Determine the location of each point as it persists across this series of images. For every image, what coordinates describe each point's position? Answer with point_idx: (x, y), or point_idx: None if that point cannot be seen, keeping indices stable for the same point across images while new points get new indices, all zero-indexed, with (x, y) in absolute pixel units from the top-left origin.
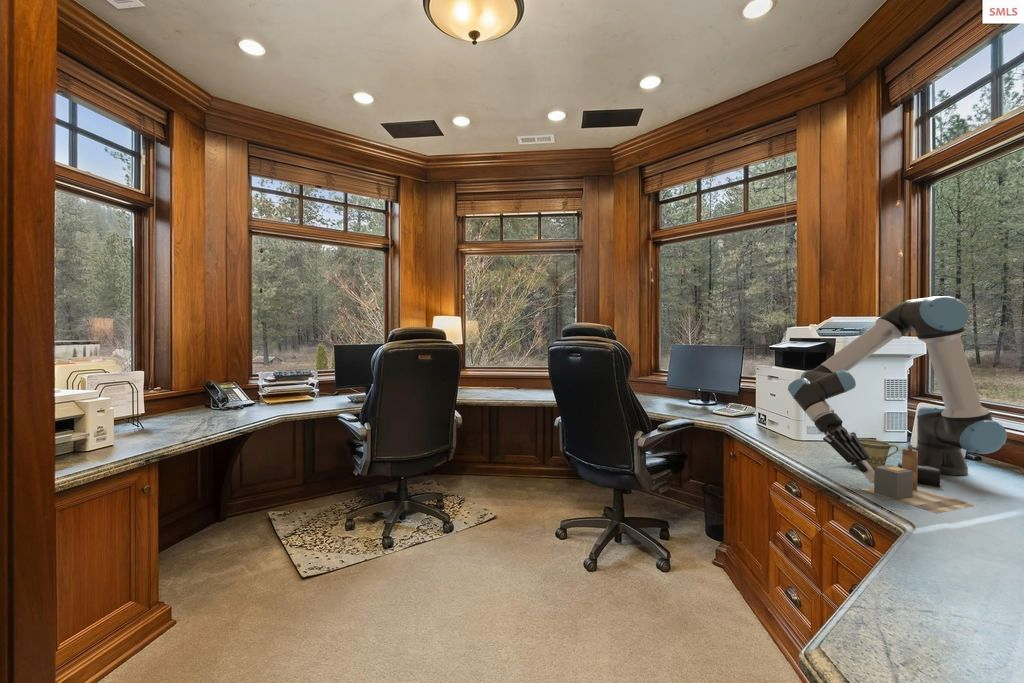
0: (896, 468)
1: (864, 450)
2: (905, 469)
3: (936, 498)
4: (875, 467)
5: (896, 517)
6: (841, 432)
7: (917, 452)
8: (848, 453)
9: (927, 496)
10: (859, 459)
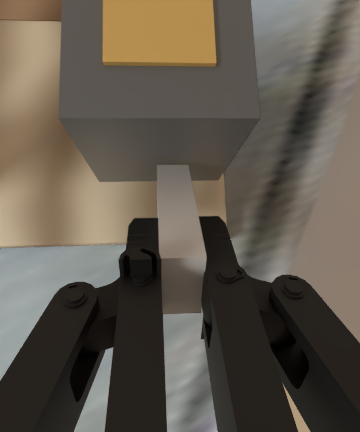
0: (142, 27)
1: (23, 365)
2: (80, 4)
3: (2, 45)
4: (257, 114)
5: (353, 19)
6: None
7: None
8: (346, 334)
9: (12, 72)
10: (233, 268)
